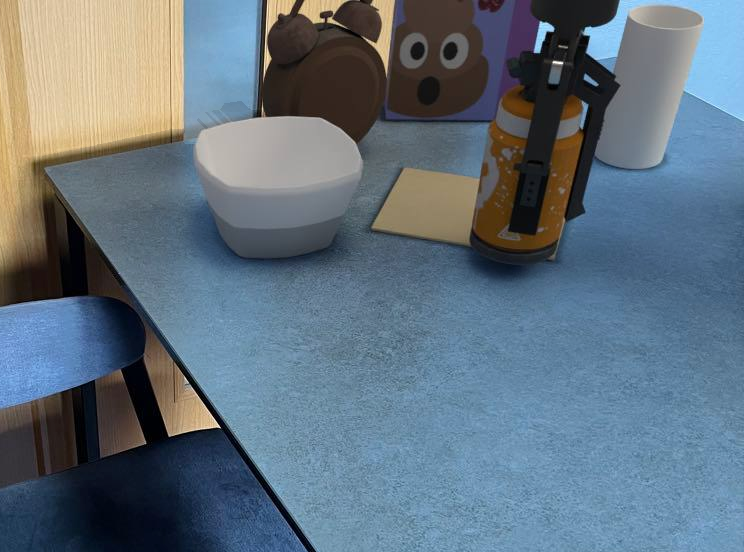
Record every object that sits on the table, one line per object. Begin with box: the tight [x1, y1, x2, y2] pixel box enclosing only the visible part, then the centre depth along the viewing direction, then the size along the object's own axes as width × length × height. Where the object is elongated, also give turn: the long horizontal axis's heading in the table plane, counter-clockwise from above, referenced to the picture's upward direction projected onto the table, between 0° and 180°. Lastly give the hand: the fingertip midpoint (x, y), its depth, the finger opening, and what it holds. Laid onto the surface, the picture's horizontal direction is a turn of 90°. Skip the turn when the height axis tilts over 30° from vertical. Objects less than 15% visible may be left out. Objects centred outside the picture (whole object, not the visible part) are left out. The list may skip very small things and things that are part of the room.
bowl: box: [192, 116, 364, 259], centre depth 112 cm, size 18×18×9 cm
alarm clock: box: [261, 0, 387, 145], centre depth 121 cm, size 14×7×20 cm, turn 115°
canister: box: [469, 51, 621, 265], centre depth 102 cm, size 9×11×20 cm
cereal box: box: [383, 0, 541, 123], centre depth 128 cm, size 17×5×24 cm, turn 87°
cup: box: [594, 3, 705, 170], centre depth 122 cm, size 8×8×16 cm
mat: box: [370, 166, 566, 261], centre depth 118 cm, size 20×16×1 cm
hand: (529, 209), depth 106 cm, fingers closed on canister, 9 cm apart
